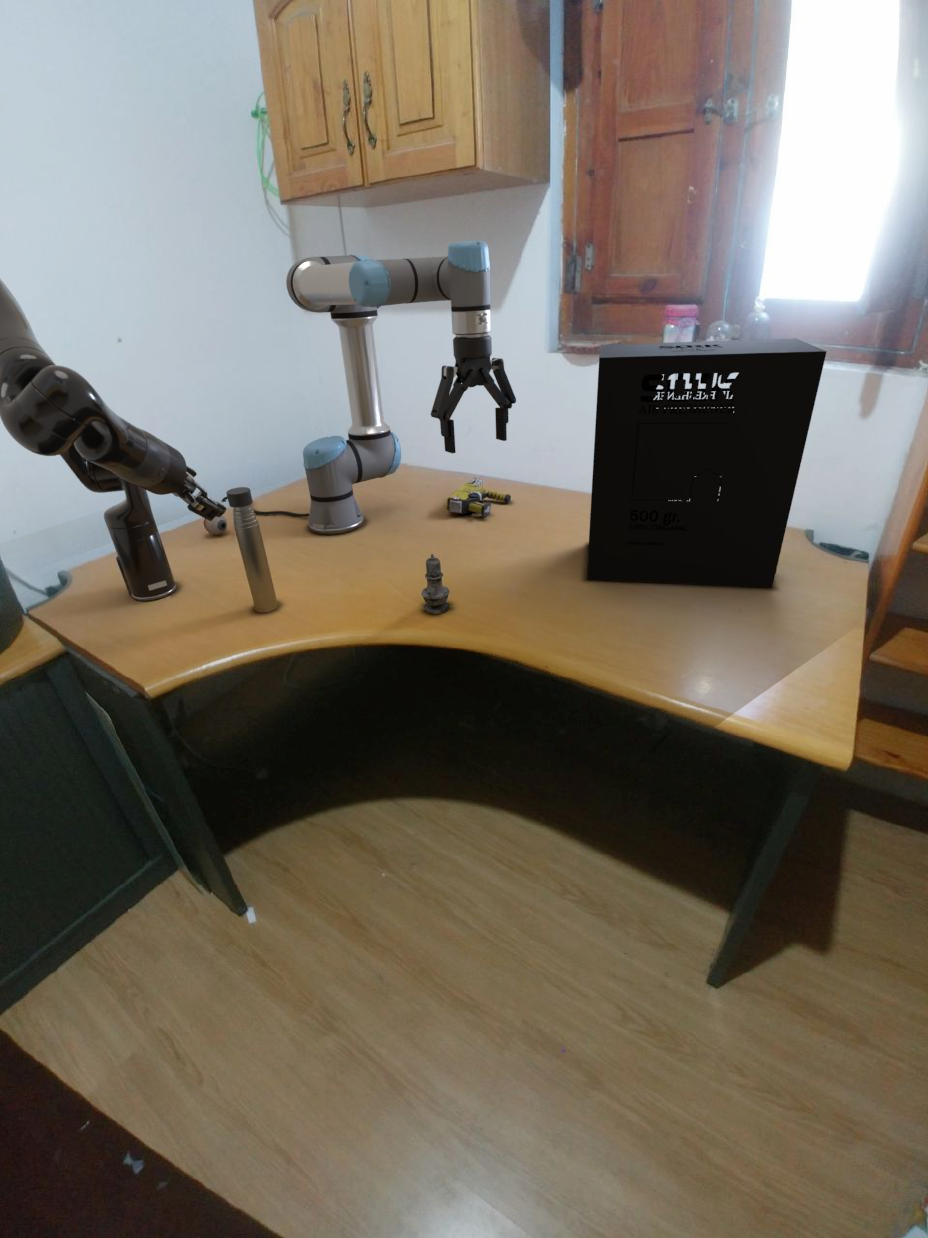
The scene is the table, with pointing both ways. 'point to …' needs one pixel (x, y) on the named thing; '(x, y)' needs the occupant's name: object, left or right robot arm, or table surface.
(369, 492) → the table surface
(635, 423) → the cardboard box
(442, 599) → the grey metal turned piece
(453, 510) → the toy gun
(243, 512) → the bottle
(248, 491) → the cap
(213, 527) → the eyeball
